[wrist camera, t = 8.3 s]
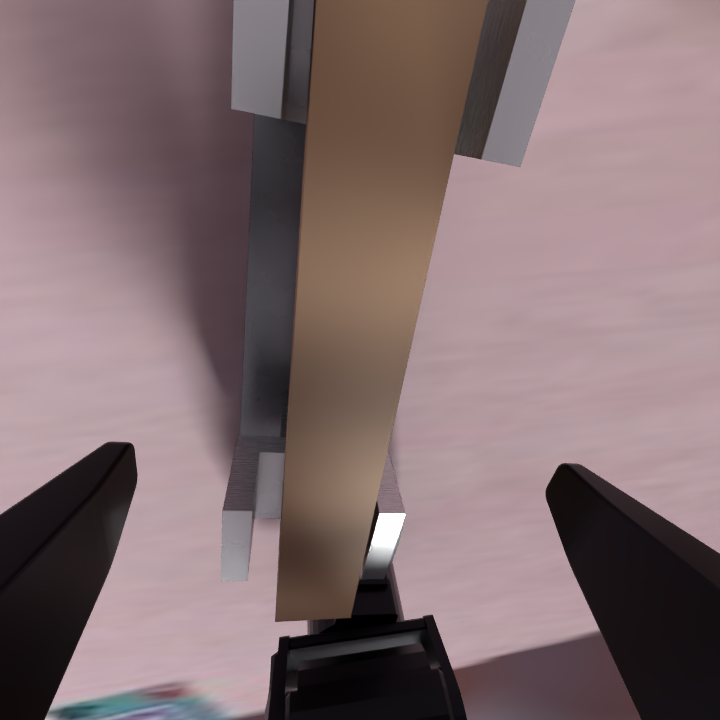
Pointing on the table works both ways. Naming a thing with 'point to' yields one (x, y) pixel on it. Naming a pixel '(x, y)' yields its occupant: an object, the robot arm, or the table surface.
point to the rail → (362, 269)
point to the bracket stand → (282, 221)
